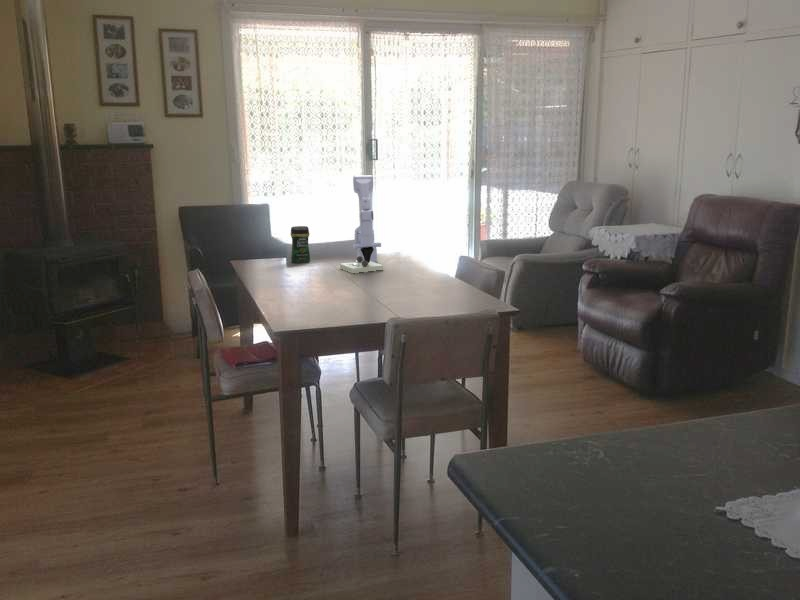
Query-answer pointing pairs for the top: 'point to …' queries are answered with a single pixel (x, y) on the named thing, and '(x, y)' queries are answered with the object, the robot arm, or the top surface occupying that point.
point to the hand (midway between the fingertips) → (367, 262)
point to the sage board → (361, 267)
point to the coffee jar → (300, 244)
